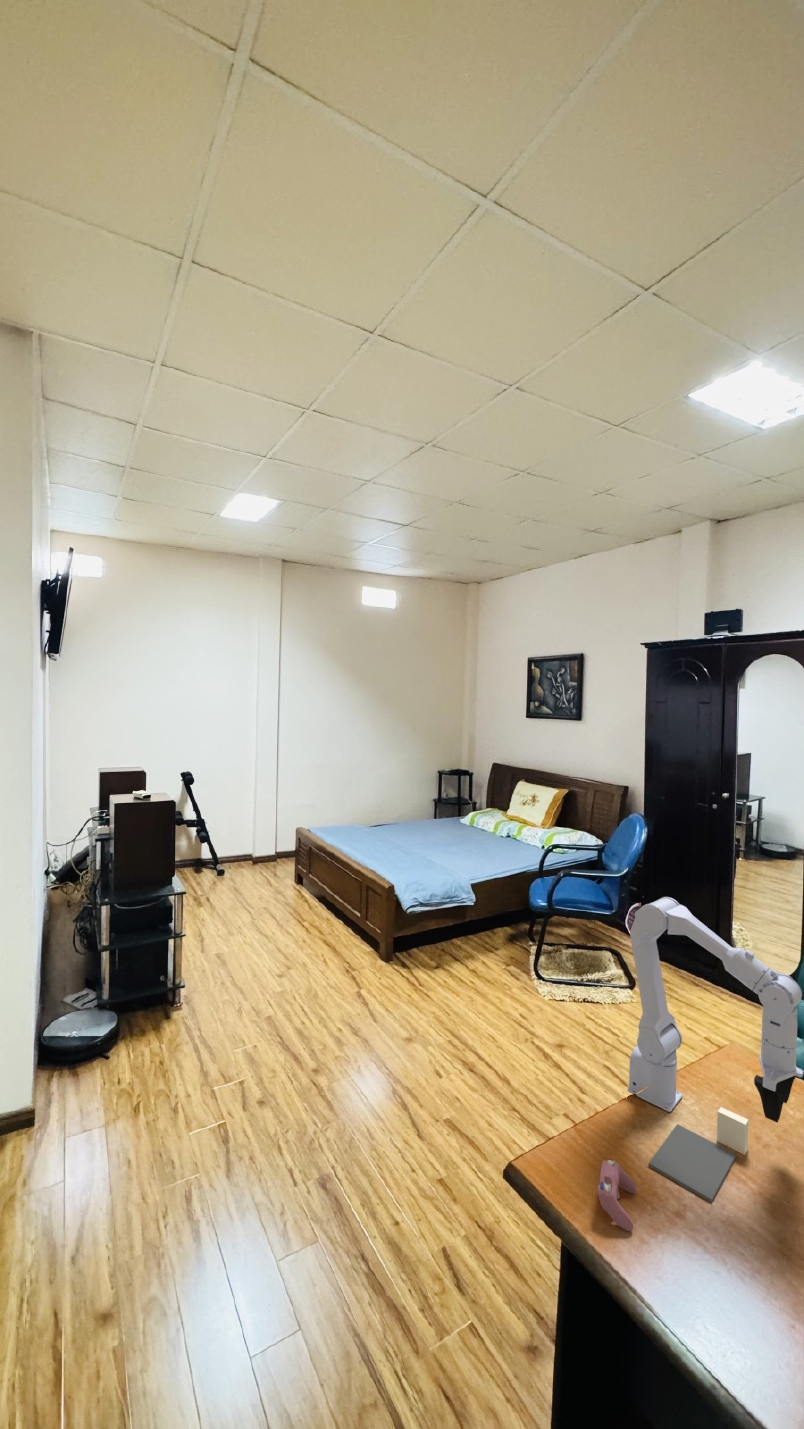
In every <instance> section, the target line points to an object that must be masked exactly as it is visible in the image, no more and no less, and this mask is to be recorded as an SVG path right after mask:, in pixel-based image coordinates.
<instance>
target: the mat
mask: <svg viewBox="0 0 804 1429" xmlns="http://www.w3.org/2000/svg"><path fill="white" fill-rule="evenodd" d="M736 1158H737V1153H734V1152H733V1151H731V1150H729V1149H727V1148H724V1147H723V1146H721V1145H719V1144H717V1143H715V1142H713V1141H711V1140H709V1139H708V1138H705V1137H703V1136H702V1135H699V1134H697V1133H695V1132H694V1131H691V1130H690V1129H688V1128H686V1127H684V1126H682V1125H680V1124H678V1123H677V1124H676V1125H675V1126H674V1127H673V1129H672V1131H671V1132H669V1135H668V1136H667V1137H666V1139H665V1140H664V1141H663V1143H662V1144H661V1146H660V1147H659V1149H658V1150H657V1151H655V1154H654V1155H653V1156H652V1158H651V1159H650V1160H649V1161H648V1167H649V1168H651V1169H653V1170H654V1171H656V1172H658V1173H659V1174H661V1175H663V1176H664V1177H666V1178H669V1179H670V1180H671V1181H673V1182H675V1183H676V1184H678V1185H680V1186H682V1187H684V1188H685V1189H687V1190H689V1191H690V1192H692V1193H694V1194H695V1195H697V1196H699V1197H701V1198H703V1199H705V1200H706V1201H708V1202H709V1203H713V1201H714V1199H715V1197H716V1196H717V1194H718V1192H719V1190H720V1189H721V1186H722V1184H723V1182H724V1181H725V1179H726V1177H727V1175H728V1173H729V1172H730V1170H731V1168H732V1166H733V1164H734V1162H735V1160H736Z"/></svg>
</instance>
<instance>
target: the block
mask: <svg viewBox="0 0 804 1429" xmlns="http://www.w3.org/2000/svg"><path fill="white" fill-rule="evenodd" d="M716 1121H717V1122H716V1125H717V1126H716V1127H717V1128H716V1142H718V1143H719V1144H722V1145H724V1146H726V1145H727V1146H726V1147H728V1148H730V1149H732V1150H734V1151H736V1152H738V1153H740V1154H742V1155H744V1156H746V1154H747V1152H748V1149H749V1147H748V1146H749V1118H746V1117H743V1116H741V1115H740V1114H737V1113H735V1112H733V1111H731V1110H728V1109H726V1108H724V1107H722V1106H720V1108H719V1109H718V1110H717V1120H716Z"/></svg>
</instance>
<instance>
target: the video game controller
mask: <svg viewBox="0 0 804 1429" xmlns="http://www.w3.org/2000/svg"><path fill="white" fill-rule="evenodd" d="M601 1163H602V1164H601V1167H600V1172H599V1173H600V1174H599V1184H598V1186H597V1194H598V1200H599V1202H600V1205H601V1207H602V1209H603V1210H604V1211H606V1212H607V1214H608V1215H609V1216H610V1218H611V1219H612V1220H613V1221H614V1222H615V1224H617V1225H618V1226H619V1227H620V1228H622V1229H623V1230H624V1231H627V1232H632V1231H633V1229H634V1223H633V1220H632V1219H631V1217H630V1216H629V1214H628V1213H627V1212H626V1211H625V1210H624V1208H623V1207H622V1205H621V1204H620V1203H619V1200H618V1199H620V1197H621V1196H620V1190H619V1187H621V1188H622V1189H623V1190H625V1191H626V1192H628V1193H629V1194H635V1193H637V1189H638V1188H637V1185H636V1183H635V1181H634V1180H633V1178H632V1177H631V1176H630V1175H629V1174H627V1172H626V1171H625V1170H624V1169H623V1168H622V1167H621V1165H620V1164H619V1163H618V1162H616V1161H615V1160H610V1159H607V1160H603V1161H602V1162H601Z"/></svg>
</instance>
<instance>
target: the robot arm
mask: <svg viewBox="0 0 804 1429" xmlns="http://www.w3.org/2000/svg"><path fill="white" fill-rule="evenodd" d="M631 925H632V926H631V929H630V931H629V935H630V941H631V942H630V943H631V948H632V953H633V961H634V965H635V971H636V980H637V984H638V989H639V990H638V991H639V997H640V1002H641V1008H642V1009H641V1010H642V1014H641V1016H640V1019H639V1020H640V1021H639V1023H638V1025H637V1026H638V1036H637V1041H636V1043H637V1045H636V1046H634V1047H633V1050H632V1051H631V1054H630V1057H629V1067H628V1068H629V1070H628V1071H629V1072H628V1074H629V1076H628V1087H627V1092H628V1093H630V1094H632V1095H634V1094H636V1093H637V1092H639V1091H640V1090H642V1089H644V1088H645V1087H648V1088H646V1089H644V1090H643V1091H642V1092H640V1093H638V1094H636V1095H637V1096H636V1095H635V1096H636V1097H638V1098H640V1099H642V1100H644V1101H645V1102H648V1103H650V1104H652V1105H654V1106H656V1107H658V1108H660V1109H662V1110H664V1111H665V1112H668V1113H670V1112H672V1110H674V1108H675V1107H676V1106H677V1104H678V1103H679V1102H680V1100H681V1099H682V1098H683V1097H684V1095H683V1093H681V1092H680V1091H678V1090H677V1071H678V1068H677V1067H678V1066H677V1064H678V1057H677V1049H679V1048H680V1047H681V1045H682V1044H683V1036H682V1033H681V1030H679V1029H680V1028H679V1027H678V1026H677V1024H676V1023H677V1022H676V1020H675V1016H674V1015H673V1014H671V1012H669V1009H668V1004H667V997H666V991H665V986H664V980H663V973H662V968H661V962H660V955H659V949H658V944H657V939H659V937H661V935H663V933H665V931H667V935H669V936H670V935H676V936H687V937H688V938H690V940H693V941H694V942H695V943H696V944H698V945H699V946H701V947H703V948H704V949H705V950H707V951H708V952H709V953H711V954H712V955H714V956H715V957H717V958H719V959H720V960H721V962H722V964H723V966H724V969H725V970H724V971H726V972H728V973H729V974H730V975H731V976H732V977H734V978H735V979H737V980H738V981H739V983H740V982H741V983H742V984H743V985H744V986H745V987H746V988H748V989H749V990H751V991H752V992H753V993H755V994H756V995H758V998H759V1002H760V1003H761V1005H762V1013H761V1014H762V1015H761V1017H762V1018H761V1042H760V1043H761V1044H760V1055H759V1066H760V1068H761V1072H762V1075H763V1076H760V1075H758V1074H756V1075H755V1077H754V1079H753V1083H754V1086H755V1088H756V1089H757V1091H758V1094H759V1096H760V1100H761V1104H762V1109H763V1114H764V1116H765V1119H768V1120H771V1121H773V1122H774V1123H778V1122H779V1120H780V1118H781V1114H782V1109H783V1106H784V1104H787V1103H788V1101H789V1099H790V1097H791V1096H790V1095H791V1091H792V1089H793V1088H792V1087H793V1084H794V1081H795V1080H796V1078H797V1077H798V1078H803V1076H804V1070H803V1069H802V1068H801V1067H800V1066H799V1065H797V1045H798V1007H797V1005H799V1004H800V1002H801V1000H802V997H803V992H802V989H801V986H800V984H798V983H797V981H796V980H794V979H793V977H792V976H790V975H788V974H786V973H782V972H781V973H779V972H778V971H777V970H776V969H771V968H770V967H769V966H767V965H766V964H765V963H763V962H762V961H761V960H759V959H758V958H757V957H755V953H754V952H753V951H752V950H750V949H748V950H746V949H744V948H743V947H732V946H731V945H730V944H728V942H726V941H725V940H724V939H723V938H721V937H720V936H719V935H718V934H716V933H715V932H714V931H713V930H711V929H710V928H708V926H707V925H705V924H704V923H703V922H701V921H700V920H699V919H698V918H697V917H696V916H694V915H693V914H692V912H691V911H690V910H689V909H688V908H687V906H685V905H683V904H680V903H679V902H678V901H677V900H676V899H674V898H672V897H669V896H662V897H661V898H659V899H657V900H655V901H653V902H649V903H646V904H644V905H642V906H641V907H640V908H639V909H638V910H637V911H635V912H634V921H633V924H631ZM652 1084H653V1085H652ZM651 1085H652V1086H651Z"/></svg>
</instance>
